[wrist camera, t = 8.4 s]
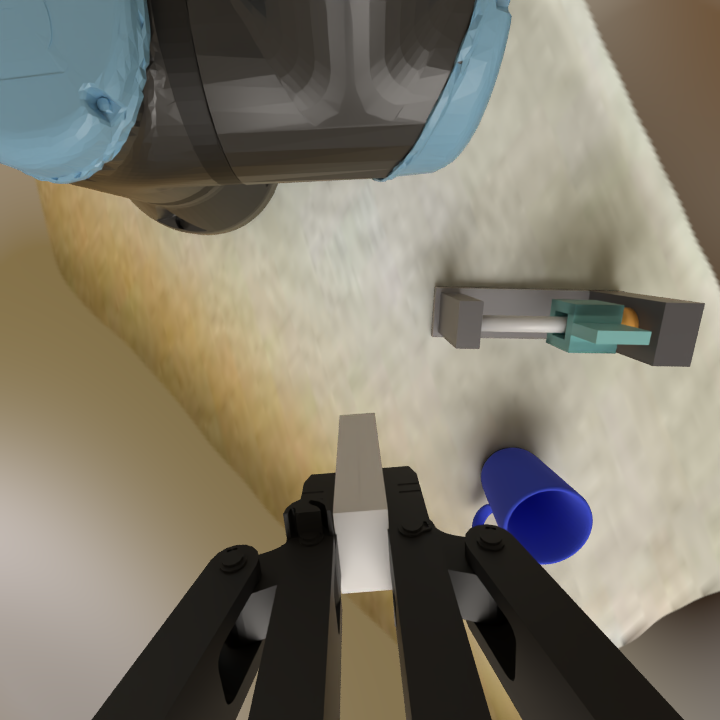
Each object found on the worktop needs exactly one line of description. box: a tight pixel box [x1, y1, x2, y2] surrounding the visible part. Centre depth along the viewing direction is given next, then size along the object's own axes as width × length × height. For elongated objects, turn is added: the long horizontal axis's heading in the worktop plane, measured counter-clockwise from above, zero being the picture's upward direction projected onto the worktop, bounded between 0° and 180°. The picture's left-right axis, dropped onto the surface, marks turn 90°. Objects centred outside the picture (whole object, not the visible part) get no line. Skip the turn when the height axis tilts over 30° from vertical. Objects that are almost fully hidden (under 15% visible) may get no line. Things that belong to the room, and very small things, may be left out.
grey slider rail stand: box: [431, 287, 705, 367], centre depth 37 cm, size 19×5×11 cm, turn 89°
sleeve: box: [546, 299, 651, 353], centre depth 34 cm, size 4×4×8 cm
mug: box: [472, 448, 593, 564], centre depth 42 cm, size 8×12×10 cm
